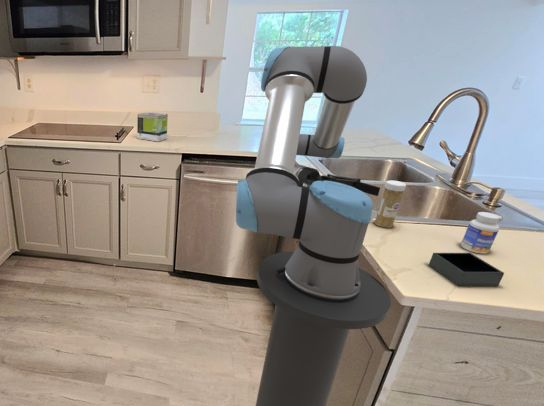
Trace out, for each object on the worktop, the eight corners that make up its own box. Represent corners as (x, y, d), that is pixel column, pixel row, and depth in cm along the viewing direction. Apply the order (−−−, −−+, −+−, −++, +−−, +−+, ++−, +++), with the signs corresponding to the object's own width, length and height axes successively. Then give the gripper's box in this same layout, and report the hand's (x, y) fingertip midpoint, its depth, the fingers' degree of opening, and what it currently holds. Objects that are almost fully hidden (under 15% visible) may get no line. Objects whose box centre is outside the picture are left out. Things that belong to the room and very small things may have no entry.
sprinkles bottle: (387, 229, 106) (401, 186, 100) (370, 223, 109) (383, 181, 104) (395, 225, 107) (409, 183, 102) (379, 220, 111) (391, 178, 106)
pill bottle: (474, 254, 92) (489, 220, 88) (454, 243, 97) (468, 210, 93) (495, 253, 92) (511, 219, 88) (474, 243, 97) (488, 210, 93)
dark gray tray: (457, 286, 81) (463, 272, 79) (428, 265, 89) (433, 252, 87) (498, 286, 80) (504, 273, 79) (464, 265, 88) (470, 252, 87)
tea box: (167, 138, 215) (168, 113, 209) (157, 142, 208) (158, 116, 202) (146, 135, 224) (147, 111, 218) (136, 138, 217) (136, 113, 211)
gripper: (322, 180, 135) (385, 199, 118) (276, 193, 125) (338, 216, 107) (327, 160, 132) (392, 177, 115) (280, 172, 122) (344, 192, 104)
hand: (366, 196), depth 111 cm, fingers open, 13 cm apart
